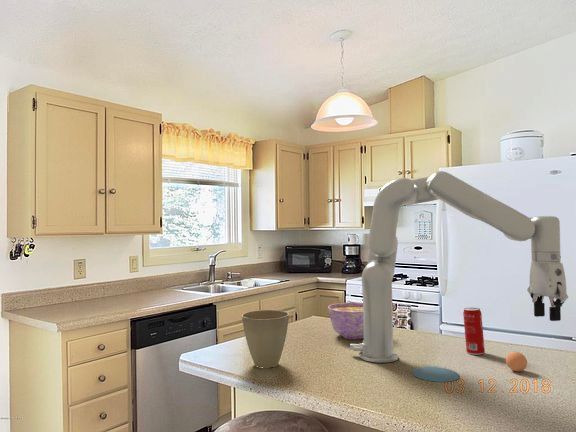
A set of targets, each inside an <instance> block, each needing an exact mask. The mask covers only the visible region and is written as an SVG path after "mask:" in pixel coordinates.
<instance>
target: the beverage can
mask: <svg viewBox="0 0 576 432" xmlns="http://www.w3.org/2000/svg"><path fill="white" fill-rule="evenodd" d="M462 315H463V326H464V337H465V348H466V349H465V350H466V353H468V354H469V355H472V356H473V355H474V356H475V355H477V356H478V355H479V356H481V355H484V354H485V352H486V349H485V339H484V327H483V318H482V317H483V315H482V311H481V308H479V307H465V308H463V314H462Z"/></svg>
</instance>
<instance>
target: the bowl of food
mask: <svg viewBox="0 0 576 432" xmlns="http://www.w3.org/2000/svg"><path fill="white" fill-rule="evenodd" d="M327 308H328V310H327V311H328V313H329V319H330V323H331V326H332V328H333V330H334V332H335V333H337V334H338V335H340V336H343V338H344V339H349V340H361V338H362V339H364V329H363V302H339V303H332V304H329V305H328V306H327Z"/></svg>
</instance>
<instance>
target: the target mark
mask: <svg viewBox="0 0 576 432" xmlns="http://www.w3.org/2000/svg"><path fill="white" fill-rule="evenodd" d="M411 372H412V375H413V376H414V377H416V378H417V379H421V380H424V381H428V382H435V383H448V382H455V381H458V379H459V378H460V374H459V373H458V372H456V371H455V370H452V369H449V368H445V367H439V366H420V367H417V368H414V369H413V370H412V371H411Z"/></svg>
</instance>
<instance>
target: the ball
mask: <svg viewBox="0 0 576 432" xmlns="http://www.w3.org/2000/svg"><path fill="white" fill-rule="evenodd" d="M505 363H506V365H507V367H508V368H509V369H510V370H512V371H514V372H523V371H524V370H525V369H526V368H527V366H528V360H527V357H526V356H525V355H524V354H523V353H521V352H519V351H511V352H509V353H508V354H507V355H506V357H505Z"/></svg>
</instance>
